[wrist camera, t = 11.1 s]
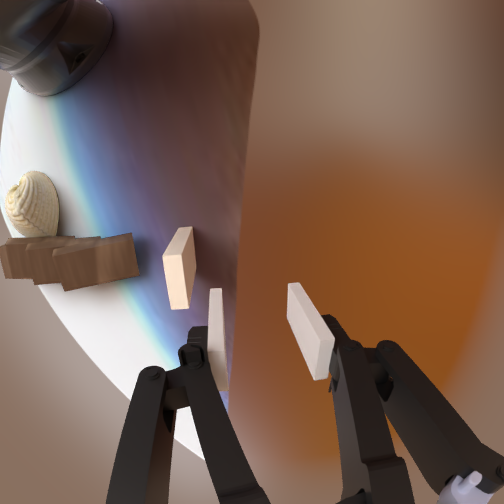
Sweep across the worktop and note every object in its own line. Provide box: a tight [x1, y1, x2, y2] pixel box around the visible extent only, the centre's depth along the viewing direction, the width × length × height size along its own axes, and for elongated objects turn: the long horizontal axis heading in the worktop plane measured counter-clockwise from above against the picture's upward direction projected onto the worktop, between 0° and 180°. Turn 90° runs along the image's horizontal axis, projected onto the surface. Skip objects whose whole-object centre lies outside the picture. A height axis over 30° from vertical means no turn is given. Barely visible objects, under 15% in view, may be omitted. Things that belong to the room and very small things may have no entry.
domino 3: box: [25, 236, 101, 285], centre depth 27 cm, size 2×5×10 cm
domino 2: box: [5, 236, 75, 278], centre depth 26 cm, size 2×5×10 cm
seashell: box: [5, 171, 59, 237], centre depth 25 cm, size 8×8×8 cm
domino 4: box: [52, 233, 140, 291], centre depth 28 cm, size 2×5×10 cm
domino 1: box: [0, 244, 33, 279], centre depth 29 cm, size 2×5×10 cm
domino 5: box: [162, 227, 196, 309], centre depth 27 cm, size 2×5×10 cm, turn 2°
